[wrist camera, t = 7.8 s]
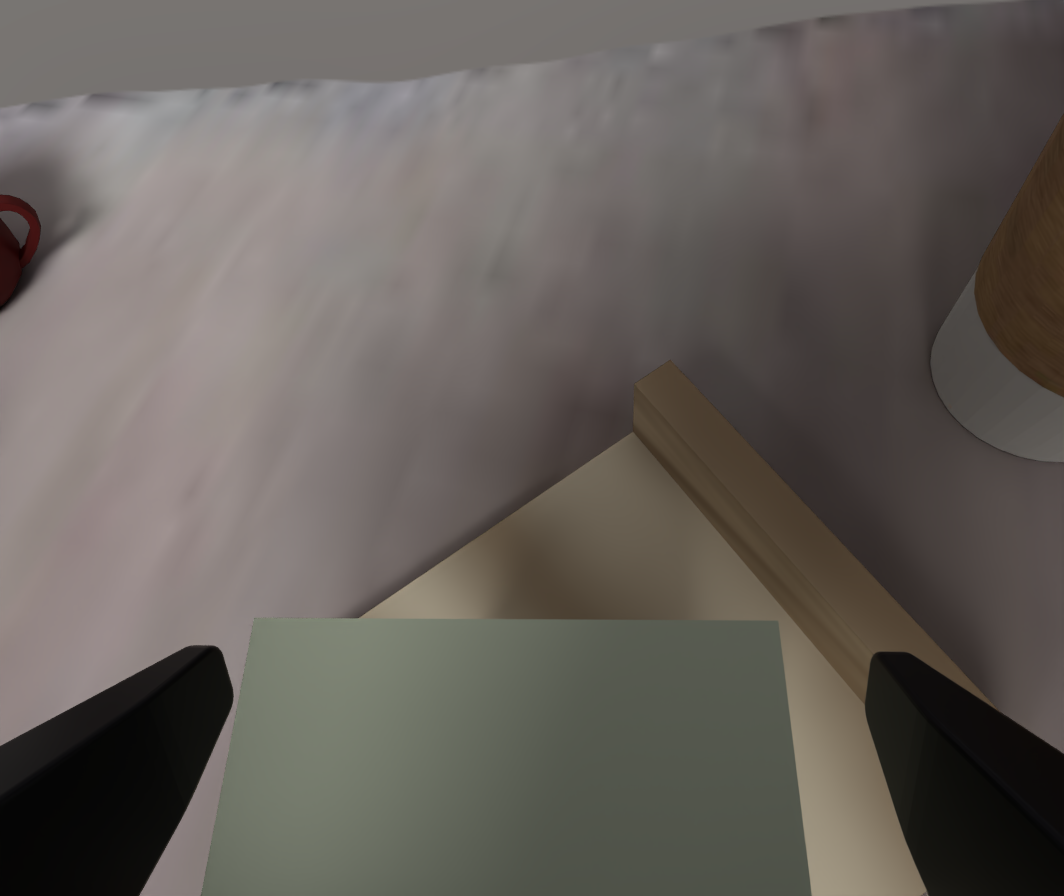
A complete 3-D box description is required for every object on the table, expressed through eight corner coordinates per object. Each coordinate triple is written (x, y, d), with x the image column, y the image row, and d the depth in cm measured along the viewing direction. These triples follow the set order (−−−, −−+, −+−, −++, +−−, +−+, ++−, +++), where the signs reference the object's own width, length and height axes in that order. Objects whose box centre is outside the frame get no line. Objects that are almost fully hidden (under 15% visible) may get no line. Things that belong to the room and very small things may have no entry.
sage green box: (698, 849, 16) (830, 1051, 6) (452, 837, 16) (182, 996, 6) (687, 684, 17) (777, 611, 7) (462, 680, 18) (255, 609, 8)
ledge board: (524, 1206, 14) (489, 1367, 11) (285, 682, 19) (207, 669, 16) (998, 806, 16) (1108, 827, 12) (662, 424, 21) (669, 359, 18)
